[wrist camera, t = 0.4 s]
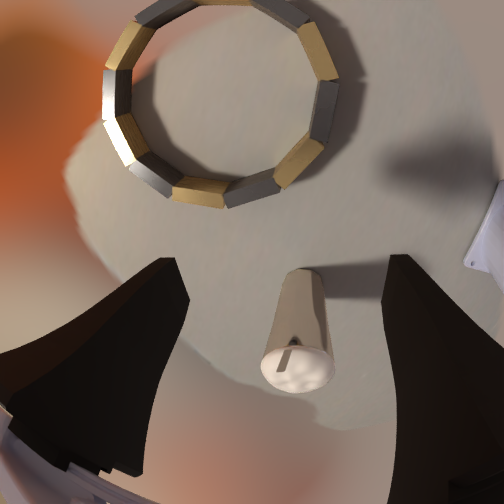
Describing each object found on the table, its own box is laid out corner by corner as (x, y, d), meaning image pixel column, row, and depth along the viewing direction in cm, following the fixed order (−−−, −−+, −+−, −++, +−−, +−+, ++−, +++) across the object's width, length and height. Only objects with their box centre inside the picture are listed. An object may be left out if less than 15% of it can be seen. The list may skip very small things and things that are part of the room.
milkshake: (322, 247, 20) (327, 366, 12) (335, 298, 23) (339, 408, 15) (263, 259, 21) (238, 373, 13) (283, 307, 24) (269, 413, 16)
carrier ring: (347, 7, 10) (353, -1, 9) (307, 211, 19) (307, 225, 17) (128, 2, 11) (112, -2, 9) (122, 180, 19) (107, 191, 18)
